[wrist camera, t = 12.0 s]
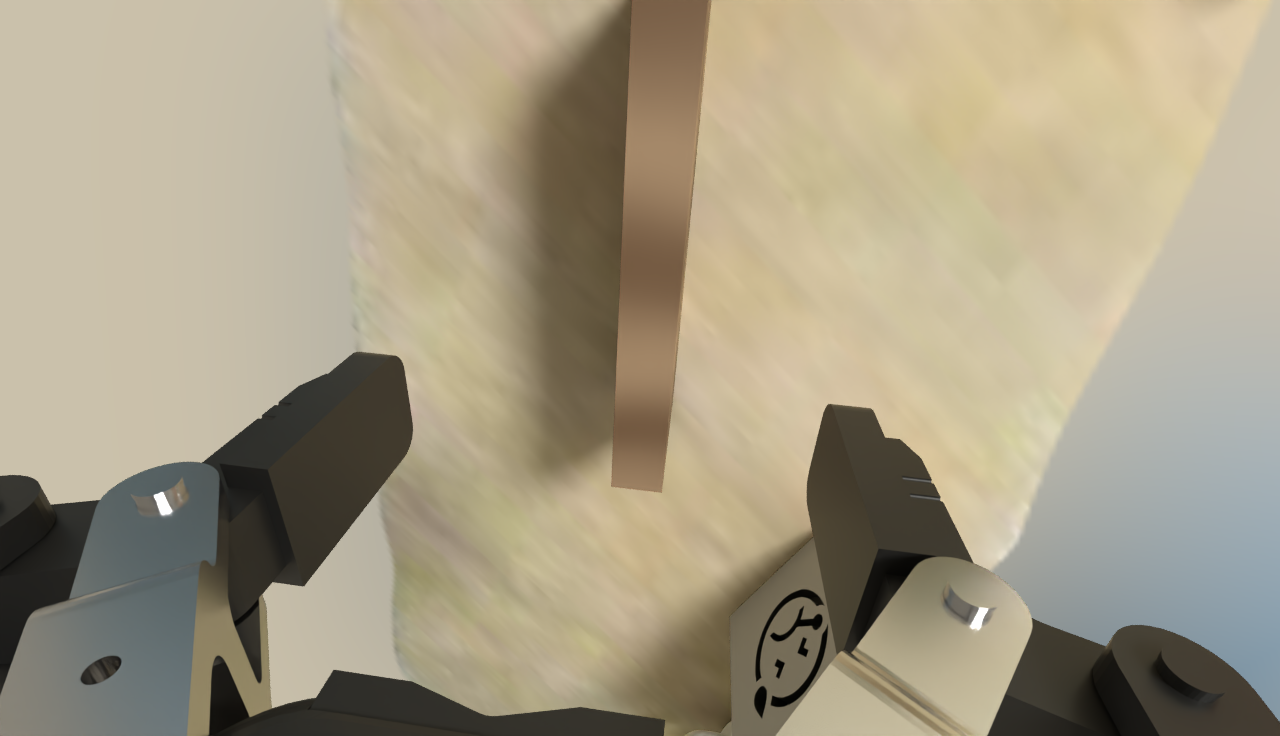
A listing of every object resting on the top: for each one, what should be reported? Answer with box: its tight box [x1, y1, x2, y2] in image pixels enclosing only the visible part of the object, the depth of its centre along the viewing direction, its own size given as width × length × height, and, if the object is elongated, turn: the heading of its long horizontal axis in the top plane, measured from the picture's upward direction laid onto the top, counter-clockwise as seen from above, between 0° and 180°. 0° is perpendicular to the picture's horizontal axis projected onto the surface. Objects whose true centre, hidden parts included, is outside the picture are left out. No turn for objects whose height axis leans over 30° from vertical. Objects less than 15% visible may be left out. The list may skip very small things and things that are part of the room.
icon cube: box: [729, 537, 837, 736], centre depth 30 cm, size 10×10×10 cm
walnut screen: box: [611, 0, 711, 492], centre depth 22 cm, size 18×2×7 cm, turn 177°
